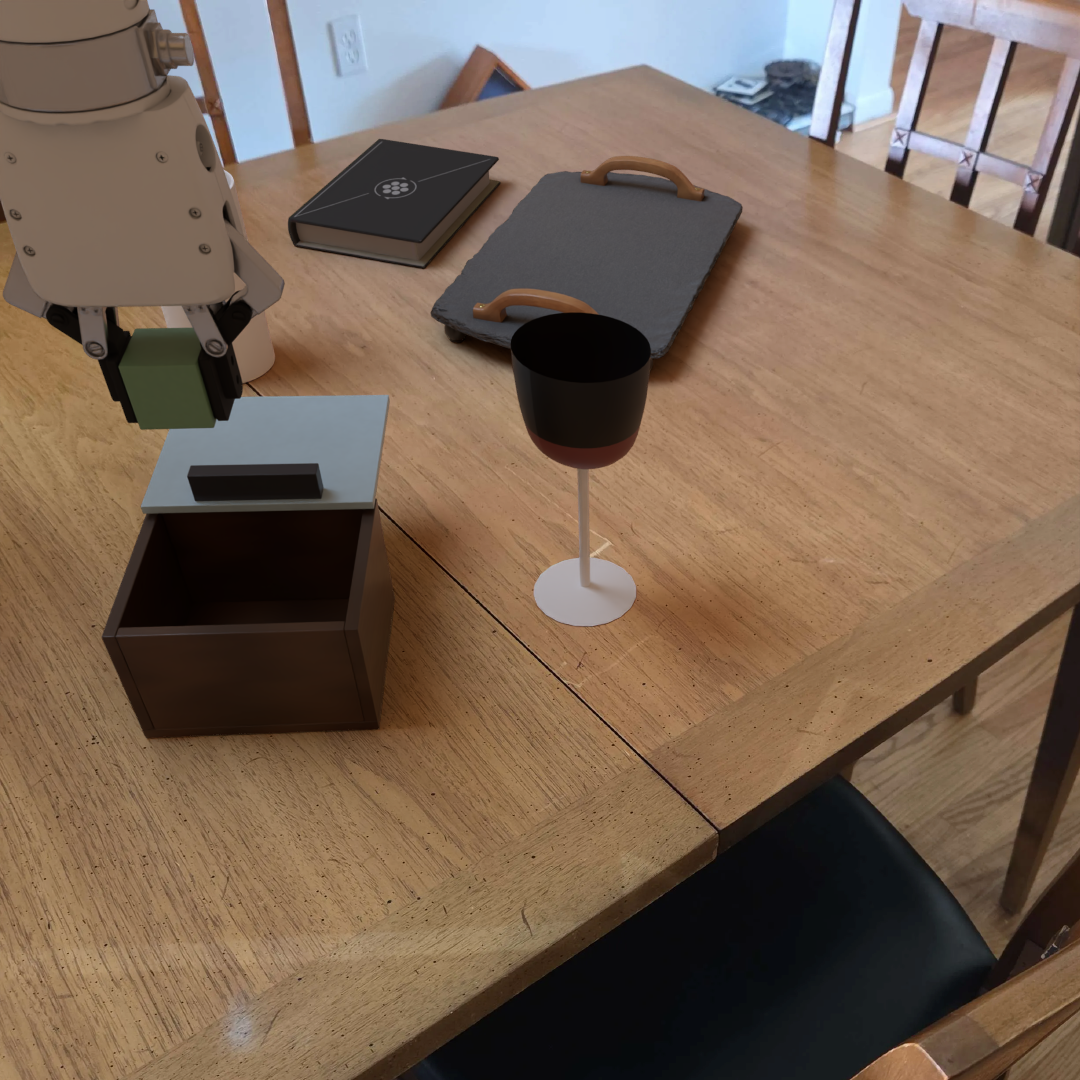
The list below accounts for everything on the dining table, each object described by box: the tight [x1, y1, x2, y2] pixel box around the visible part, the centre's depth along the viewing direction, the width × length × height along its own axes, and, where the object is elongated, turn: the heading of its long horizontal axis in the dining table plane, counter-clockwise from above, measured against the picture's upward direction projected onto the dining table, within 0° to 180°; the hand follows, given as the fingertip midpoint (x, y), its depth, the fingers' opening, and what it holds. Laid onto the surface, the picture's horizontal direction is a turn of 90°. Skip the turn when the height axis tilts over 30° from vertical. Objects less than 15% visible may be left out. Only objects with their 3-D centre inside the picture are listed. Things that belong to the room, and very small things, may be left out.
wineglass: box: [510, 312, 651, 627], centre depth 78 cm, size 8×9×20 cm
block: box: [119, 327, 217, 431], centre depth 64 cm, size 4×4×4 cm
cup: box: [160, 169, 276, 384], centre depth 98 cm, size 8×8×16 cm
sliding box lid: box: [140, 394, 391, 515], centre depth 78 cm, size 15×13×3 cm
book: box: [287, 138, 501, 269], centre depth 125 cm, size 22×15×3 cm
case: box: [101, 497, 396, 739], centre depth 75 cm, size 15×13×9 cm
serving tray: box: [430, 155, 744, 371], centre depth 115 cm, size 39×23×6 cm, turn 165°
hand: (182, 405), depth 65 cm, fingers closed on block, 4 cm apart
